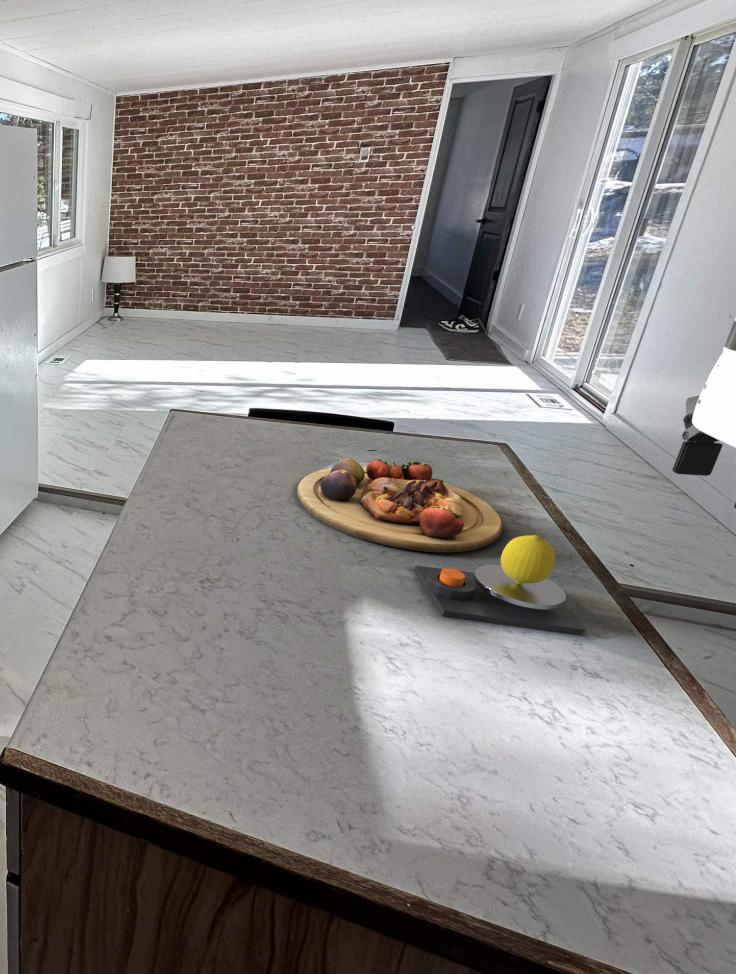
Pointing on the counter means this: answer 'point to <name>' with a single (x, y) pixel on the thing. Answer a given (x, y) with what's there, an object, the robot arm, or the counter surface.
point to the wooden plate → (399, 507)
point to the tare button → (452, 577)
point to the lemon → (528, 559)
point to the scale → (491, 605)
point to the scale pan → (519, 589)
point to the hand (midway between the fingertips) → (720, 491)
